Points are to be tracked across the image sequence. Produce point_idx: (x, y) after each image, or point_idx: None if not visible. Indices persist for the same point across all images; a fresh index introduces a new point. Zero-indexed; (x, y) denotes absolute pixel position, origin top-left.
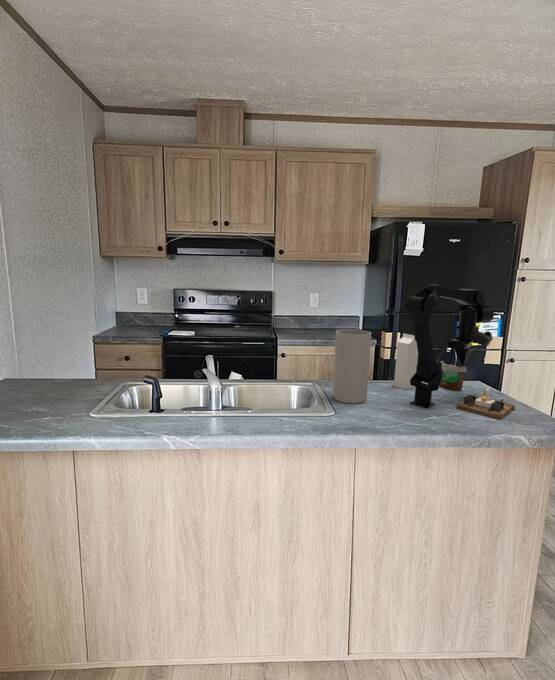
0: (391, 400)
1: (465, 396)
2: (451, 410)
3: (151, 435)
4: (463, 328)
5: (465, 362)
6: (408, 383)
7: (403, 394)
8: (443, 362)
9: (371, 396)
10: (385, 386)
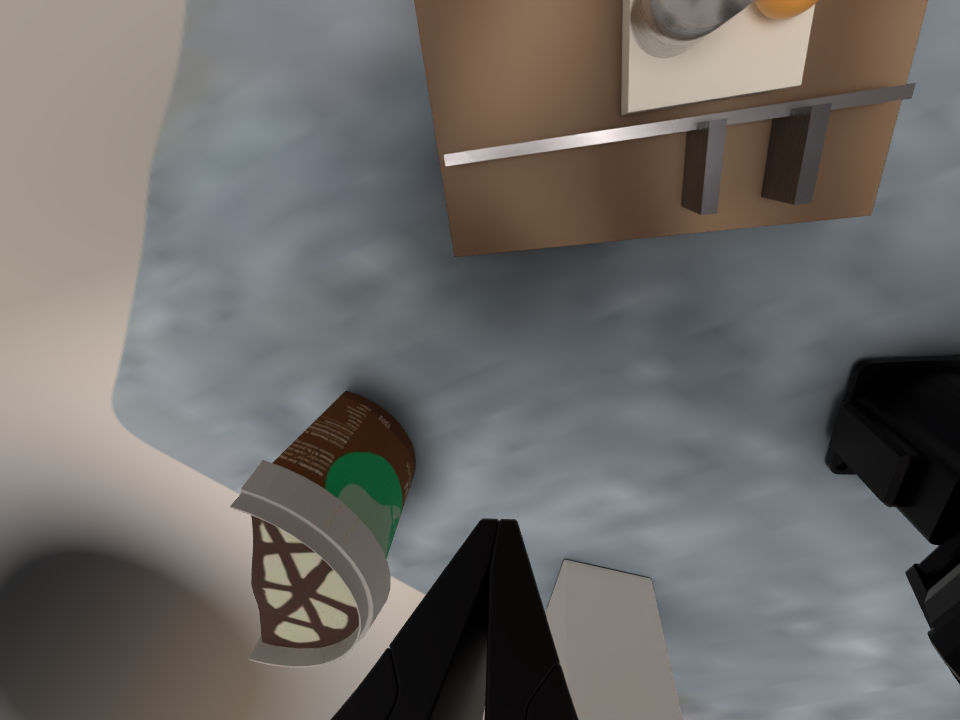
0: None
1: (807, 194)
2: (938, 209)
3: None
4: None
5: (479, 545)
6: (630, 607)
7: (752, 555)
8: (260, 644)
9: None
10: (668, 647)
